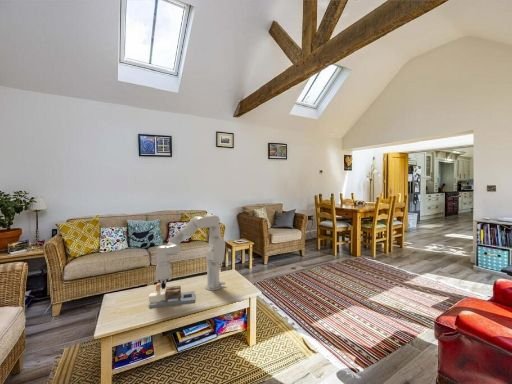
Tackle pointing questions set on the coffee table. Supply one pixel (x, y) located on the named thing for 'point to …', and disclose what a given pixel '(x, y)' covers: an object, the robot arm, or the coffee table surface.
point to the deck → (175, 300)
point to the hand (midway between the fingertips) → (163, 288)
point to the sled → (157, 294)
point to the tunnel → (172, 292)
